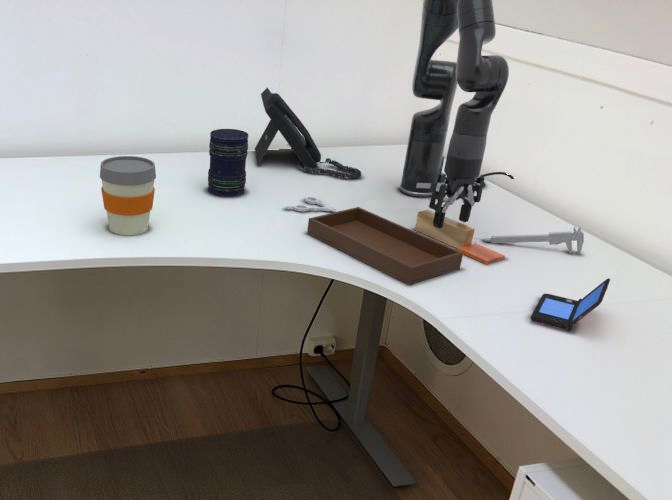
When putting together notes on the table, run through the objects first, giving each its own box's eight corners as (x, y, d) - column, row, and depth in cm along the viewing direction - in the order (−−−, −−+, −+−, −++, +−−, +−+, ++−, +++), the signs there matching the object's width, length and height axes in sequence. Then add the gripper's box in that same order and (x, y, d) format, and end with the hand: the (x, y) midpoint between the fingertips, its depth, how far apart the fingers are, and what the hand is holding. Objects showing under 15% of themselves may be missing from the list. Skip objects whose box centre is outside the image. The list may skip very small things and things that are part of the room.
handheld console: (541, 297, 158) (551, 263, 154) (599, 311, 153) (611, 277, 149) (528, 321, 149) (538, 286, 145) (589, 338, 144) (601, 301, 140)
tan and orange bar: (427, 226, 190) (431, 208, 187) (504, 258, 174) (509, 239, 172) (410, 231, 187) (413, 212, 184) (486, 264, 171) (491, 245, 169)
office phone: (362, 180, 218) (373, 106, 208) (260, 177, 218) (265, 102, 207) (346, 150, 243) (355, 82, 233) (254, 146, 243) (259, 78, 233)
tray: (356, 221, 191) (358, 206, 189) (459, 269, 169) (463, 252, 167) (306, 233, 183) (308, 218, 181) (408, 285, 161) (411, 268, 159)
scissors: (302, 194, 204) (377, 209, 196) (302, 197, 204) (376, 212, 196) (285, 206, 196) (362, 222, 188) (285, 209, 196) (361, 225, 188)
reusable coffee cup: (131, 214, 191) (130, 152, 183) (166, 229, 183) (167, 165, 175) (90, 226, 183) (87, 162, 175) (125, 242, 175) (124, 176, 168)
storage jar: (201, 193, 205) (203, 135, 197) (214, 182, 213) (217, 126, 205) (237, 199, 202) (241, 141, 194) (250, 188, 209) (254, 131, 202)
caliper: (579, 253, 178) (587, 227, 175) (579, 255, 177) (587, 229, 174) (484, 240, 183) (490, 215, 180) (484, 242, 182) (490, 216, 179)
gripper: (456, 161, 165) (441, 235, 173) (501, 153, 172) (484, 224, 180) (429, 152, 171) (416, 224, 179) (473, 145, 177) (458, 214, 186)
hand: (450, 224), depth 179 cm, fingers open, 8 cm apart
